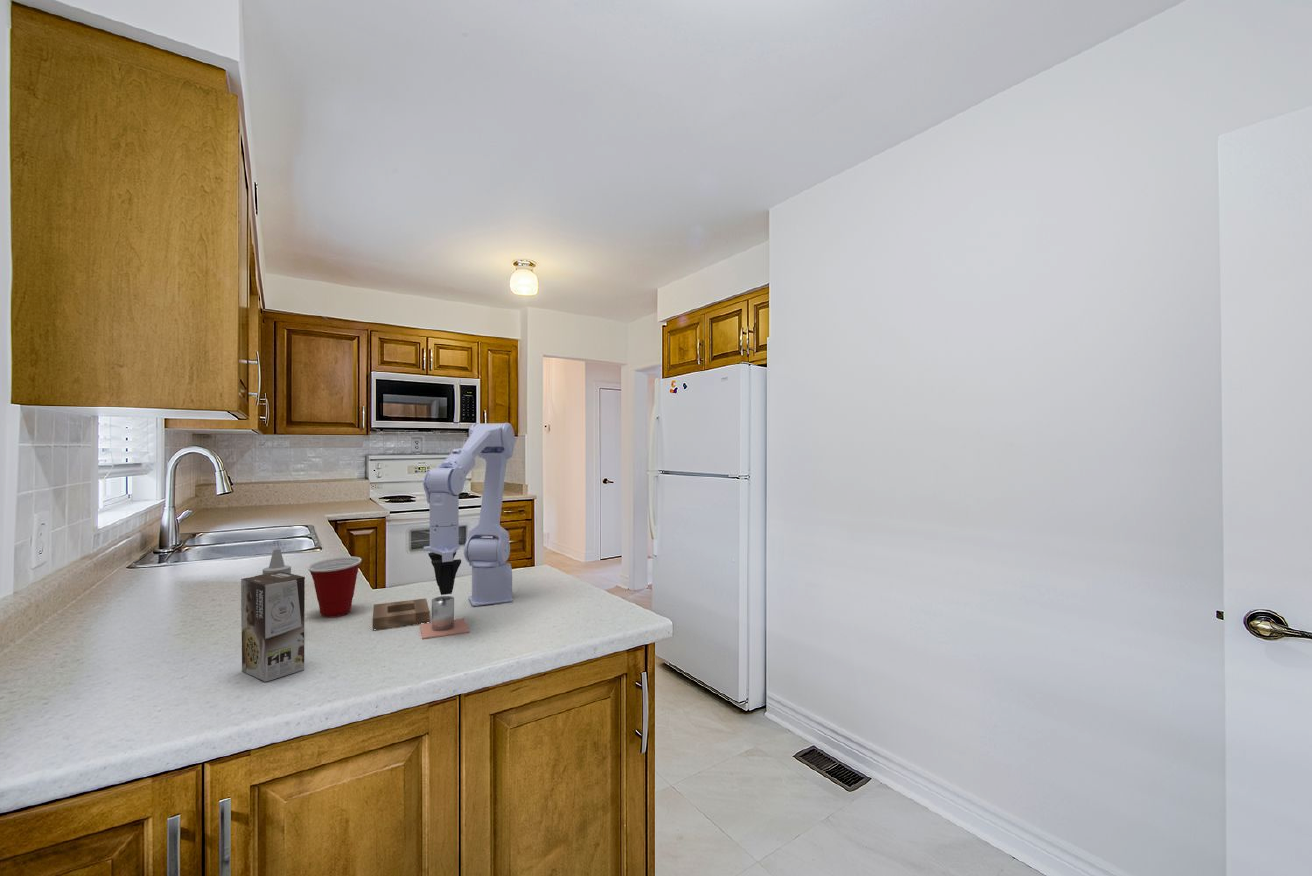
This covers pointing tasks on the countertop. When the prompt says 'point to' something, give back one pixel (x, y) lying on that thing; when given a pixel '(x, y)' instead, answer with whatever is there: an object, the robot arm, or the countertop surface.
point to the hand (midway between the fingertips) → (444, 589)
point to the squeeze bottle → (277, 563)
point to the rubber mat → (458, 628)
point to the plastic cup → (335, 584)
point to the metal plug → (442, 613)
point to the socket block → (400, 613)
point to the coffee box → (272, 625)
